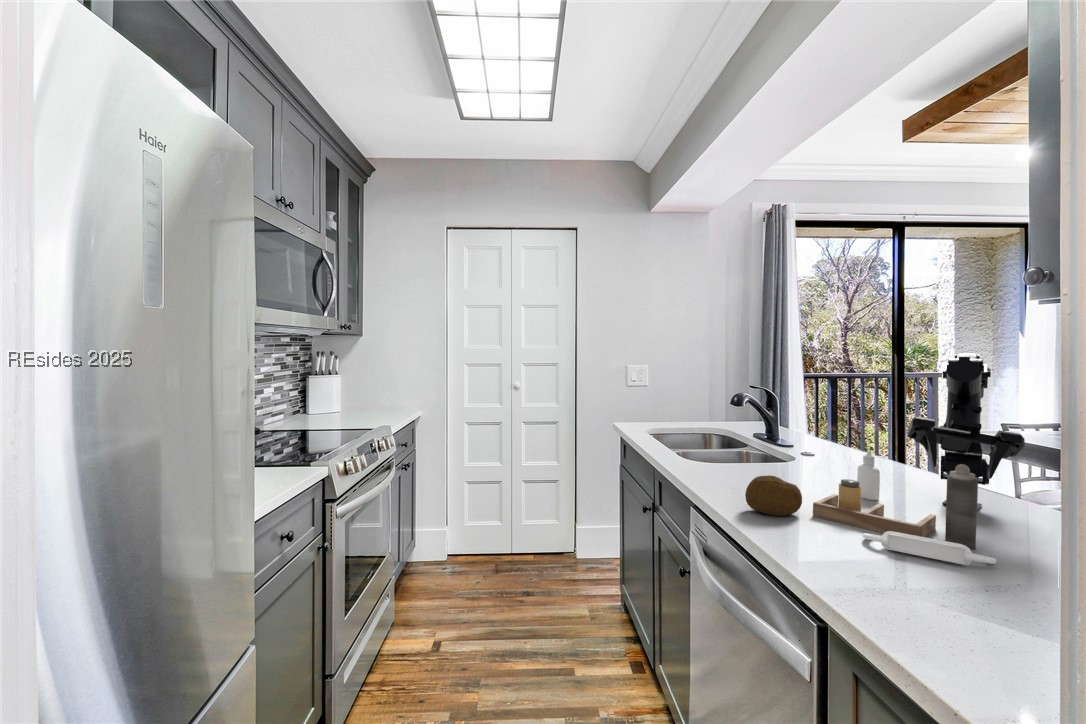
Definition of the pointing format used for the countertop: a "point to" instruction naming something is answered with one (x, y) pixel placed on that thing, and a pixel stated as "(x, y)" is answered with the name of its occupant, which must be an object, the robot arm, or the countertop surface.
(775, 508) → the potato
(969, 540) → the pepper mill
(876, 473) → the eye dropper bottle
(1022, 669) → the countertop surface
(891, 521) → the slot rack
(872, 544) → the countertop surface
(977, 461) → the robot arm
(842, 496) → the amber jar
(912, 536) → the rolling pin
